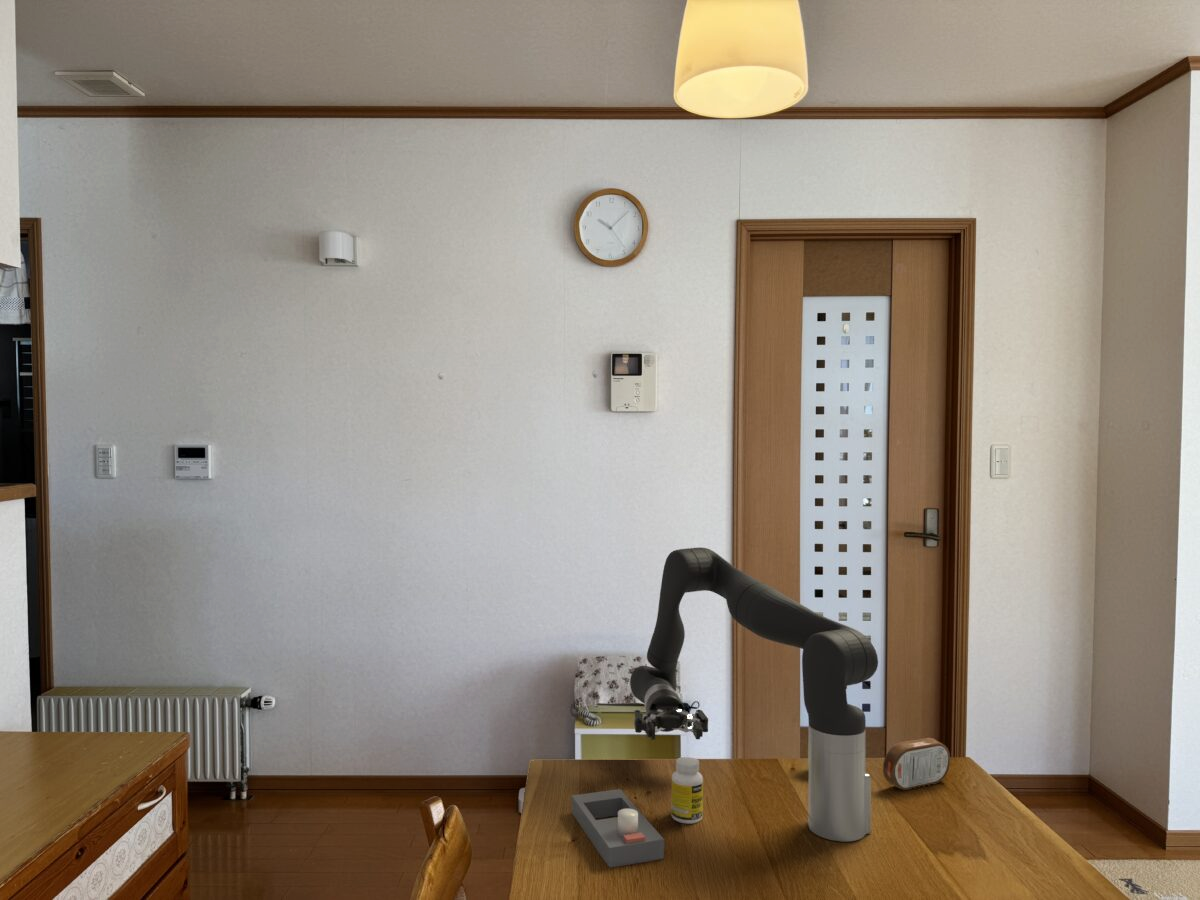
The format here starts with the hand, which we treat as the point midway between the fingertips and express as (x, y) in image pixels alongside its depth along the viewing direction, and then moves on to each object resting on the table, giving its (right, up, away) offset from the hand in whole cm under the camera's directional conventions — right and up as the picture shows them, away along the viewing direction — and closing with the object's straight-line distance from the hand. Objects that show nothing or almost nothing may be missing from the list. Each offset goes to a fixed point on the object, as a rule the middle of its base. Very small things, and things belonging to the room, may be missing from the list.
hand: (676, 734), depth 150 cm
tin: (+47, -11, +3) cm, 48 cm away
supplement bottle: (+1, -10, -12) cm, 16 cm away
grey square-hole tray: (-12, -10, -18) cm, 24 cm away
